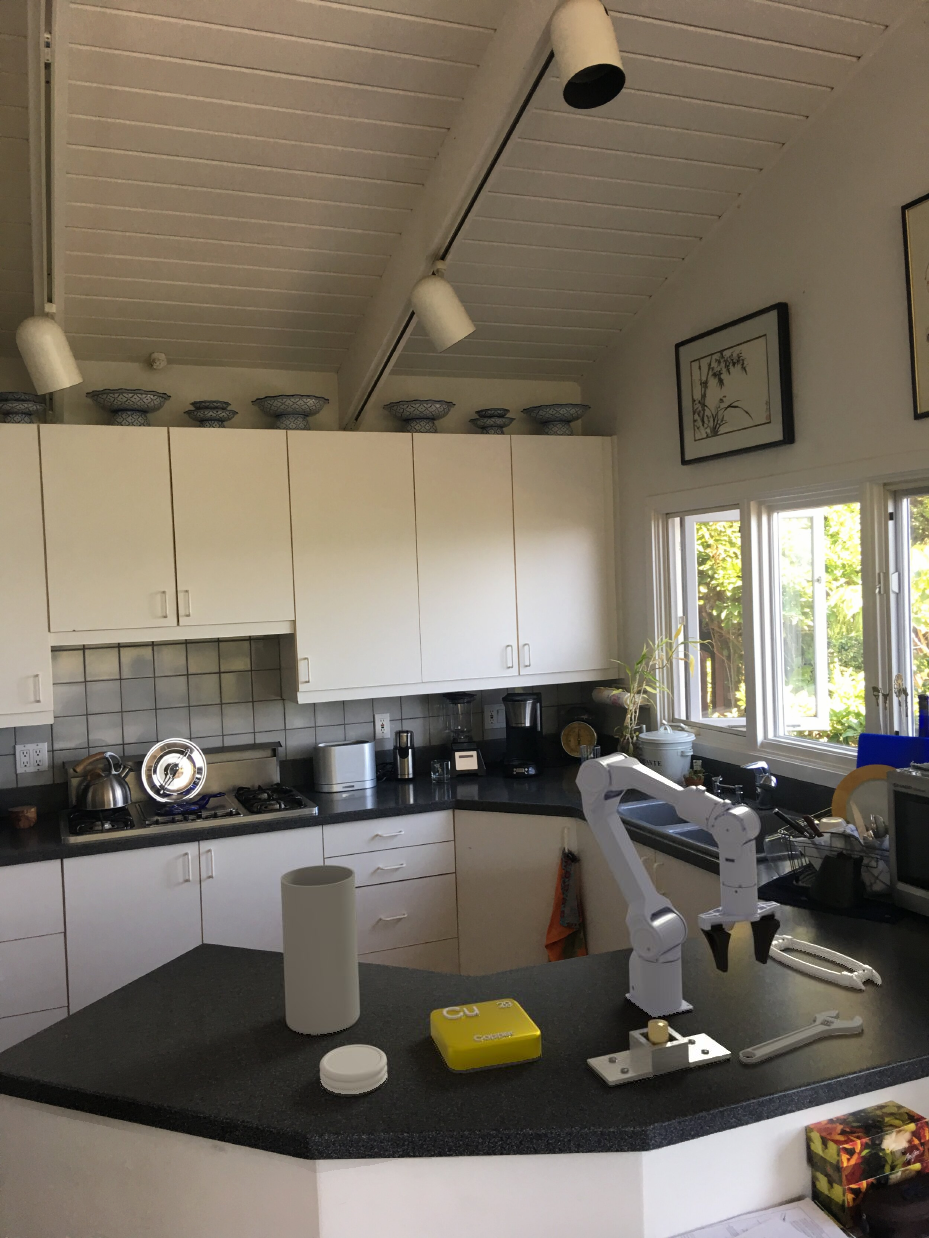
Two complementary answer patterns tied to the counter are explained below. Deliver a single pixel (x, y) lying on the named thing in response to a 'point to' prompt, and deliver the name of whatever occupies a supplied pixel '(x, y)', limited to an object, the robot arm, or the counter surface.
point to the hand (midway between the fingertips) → (741, 966)
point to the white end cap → (353, 1069)
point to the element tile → (485, 1034)
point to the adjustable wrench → (803, 1035)
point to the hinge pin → (658, 1032)
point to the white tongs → (843, 978)
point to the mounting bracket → (657, 1056)
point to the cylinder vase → (320, 949)
